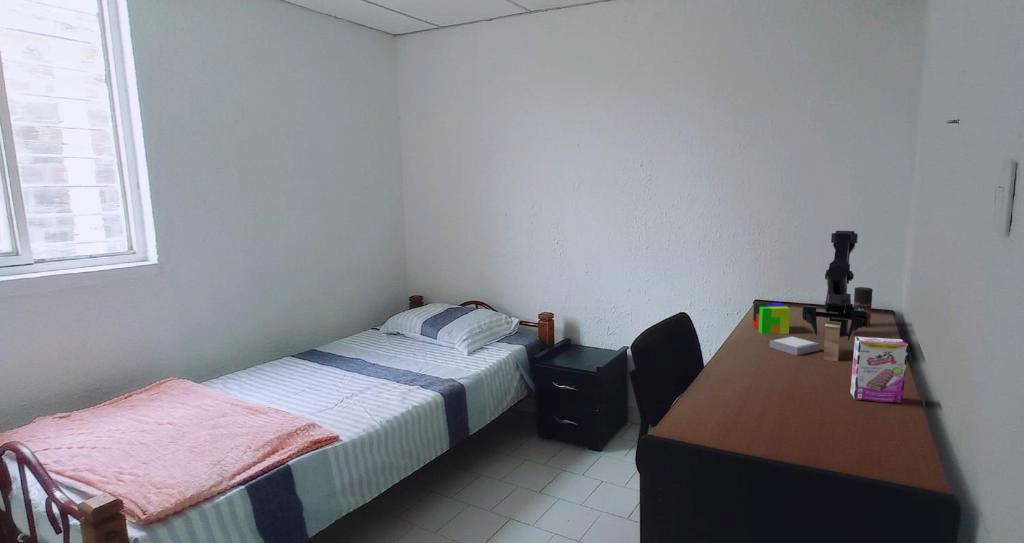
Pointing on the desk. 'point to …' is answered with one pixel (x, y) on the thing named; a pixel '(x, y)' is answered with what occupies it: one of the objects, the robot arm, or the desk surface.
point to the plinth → (794, 345)
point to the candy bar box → (878, 369)
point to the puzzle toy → (771, 318)
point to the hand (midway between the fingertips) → (832, 337)
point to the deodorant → (863, 301)
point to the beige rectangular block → (832, 340)
